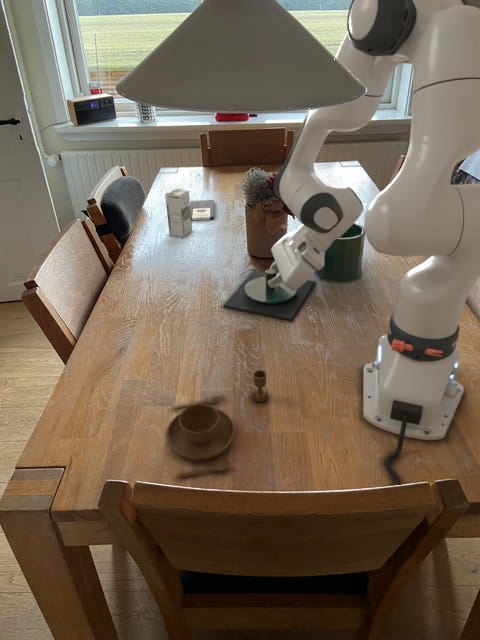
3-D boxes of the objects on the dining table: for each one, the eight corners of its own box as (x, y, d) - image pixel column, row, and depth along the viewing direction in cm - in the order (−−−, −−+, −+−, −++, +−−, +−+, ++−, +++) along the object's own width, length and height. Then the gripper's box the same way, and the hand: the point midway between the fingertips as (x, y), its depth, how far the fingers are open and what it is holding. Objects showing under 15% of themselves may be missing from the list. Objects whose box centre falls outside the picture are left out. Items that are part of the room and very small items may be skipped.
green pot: (367, 278, 128) (373, 236, 121) (323, 284, 126) (327, 241, 120) (349, 258, 139) (354, 218, 132) (309, 263, 137) (311, 223, 130)
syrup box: (178, 229, 162) (173, 187, 154) (192, 231, 160) (189, 189, 152) (169, 235, 158) (164, 193, 150) (184, 237, 156) (179, 195, 148)
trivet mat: (291, 321, 112) (291, 319, 112) (223, 307, 118) (223, 305, 118) (314, 283, 127) (314, 281, 127) (253, 272, 134) (253, 270, 133)
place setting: (162, 408, 89) (158, 385, 86) (264, 389, 92) (264, 366, 89) (173, 484, 74) (168, 459, 71) (292, 458, 78) (293, 433, 75)
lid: (303, 302, 118) (304, 280, 115) (250, 309, 116) (250, 287, 113) (288, 277, 129) (288, 256, 126) (240, 283, 127) (239, 263, 124)
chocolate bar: (213, 199, 183) (213, 216, 168) (213, 202, 184) (213, 219, 169) (190, 200, 183) (188, 217, 168) (191, 203, 183) (188, 220, 168)
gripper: (290, 220, 123) (254, 256, 128) (308, 253, 106) (265, 294, 111) (306, 234, 126) (270, 270, 131) (326, 269, 109) (283, 308, 114)
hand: (268, 281), depth 121 cm, fingers closed on lid, 3 cm apart
